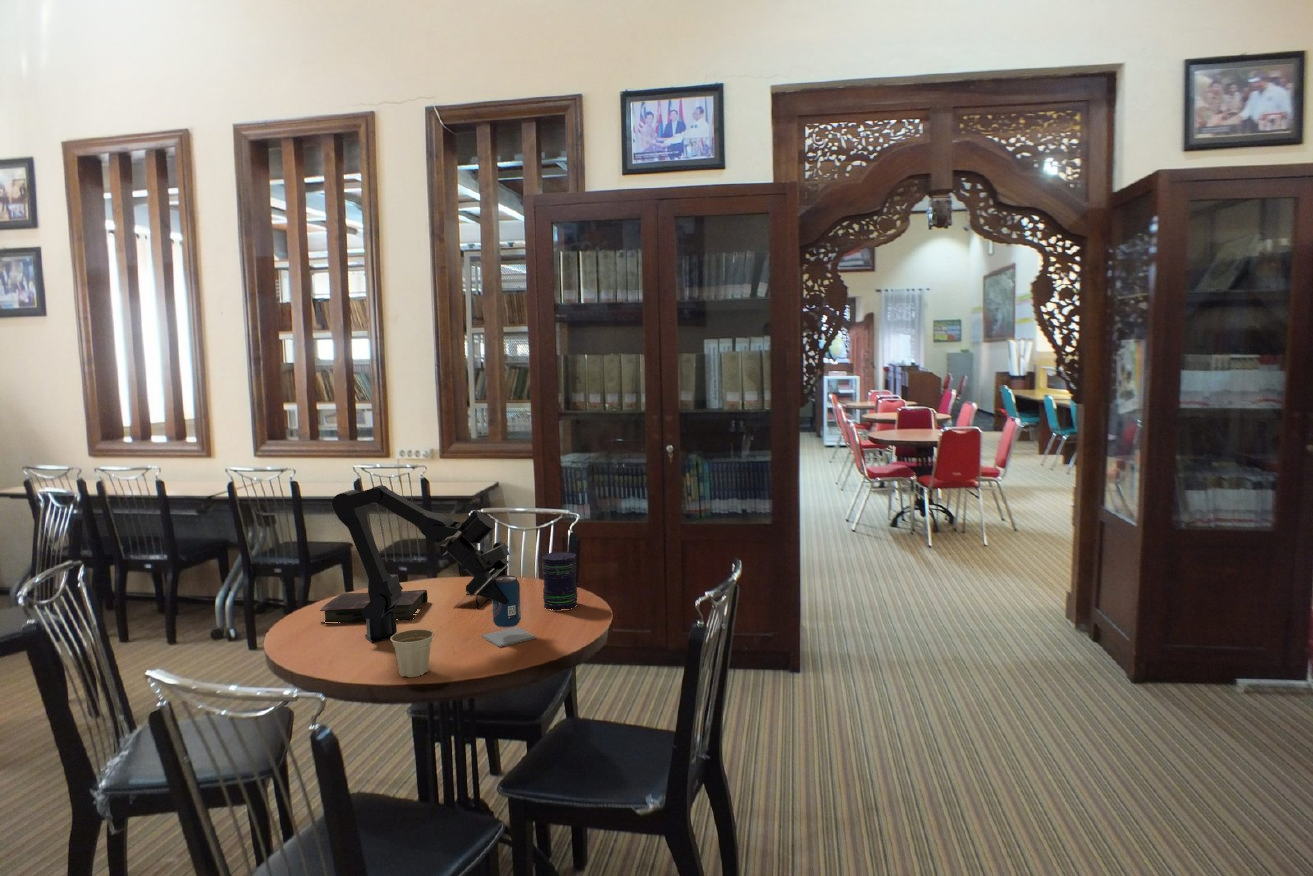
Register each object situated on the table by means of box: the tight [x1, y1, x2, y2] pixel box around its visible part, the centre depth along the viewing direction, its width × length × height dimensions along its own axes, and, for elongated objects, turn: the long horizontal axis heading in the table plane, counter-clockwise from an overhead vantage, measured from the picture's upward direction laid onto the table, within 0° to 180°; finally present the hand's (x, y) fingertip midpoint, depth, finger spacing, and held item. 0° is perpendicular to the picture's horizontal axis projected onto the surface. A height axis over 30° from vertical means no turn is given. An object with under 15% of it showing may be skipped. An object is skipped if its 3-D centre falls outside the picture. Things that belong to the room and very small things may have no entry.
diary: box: [319, 589, 429, 624], centre depth 220 cm, size 19×25×5 cm
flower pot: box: [389, 628, 435, 678], centre depth 173 cm, size 9×9×9 cm
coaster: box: [481, 626, 536, 648], centre depth 195 cm, size 10×10×1 cm
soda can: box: [491, 574, 522, 629], centre depth 195 cm, size 7×7×12 cm
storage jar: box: [541, 551, 578, 610], centre depth 221 cm, size 10×10×15 cm
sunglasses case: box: [452, 590, 489, 610], centre depth 230 cm, size 18×7×7 cm, turn 175°
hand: (511, 599), depth 195 cm, fingers closed on soda can, 7 cm apart
